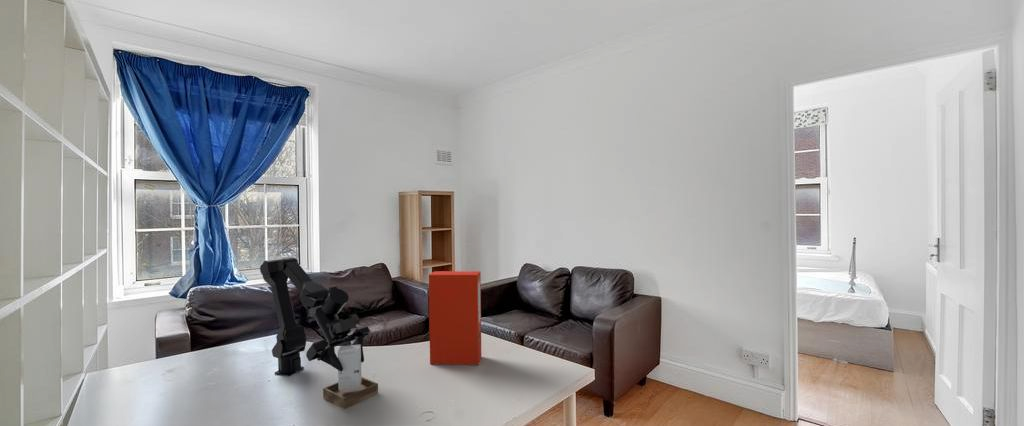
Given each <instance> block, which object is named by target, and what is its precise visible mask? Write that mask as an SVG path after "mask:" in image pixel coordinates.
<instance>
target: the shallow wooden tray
mask: <svg viewBox="0 0 1024 426" xmlns="http://www.w3.org/2000/svg"><path fill="white" fill-rule="evenodd" d="M361 380H362V382H361V386H360V388H359V389H357V390H348V391H339V384H338V381H337V382H335V383H333V384H330V385H328V386H326V387H323V388H322V397H323V400H325V401H328V402H329V403H331V404H334V405H335V406H338V407H339V408H342V409H343V410H346V409H349V408H351V407H353V406H355V405H357V404H359V403H361V402H363V401H365V400H368V399H369V398H371V397H374V396H376V395H377V394H379V383H378V382H375V381H372V380H370V379H368V378H365V377H363V376H361Z"/></svg>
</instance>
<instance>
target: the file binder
mask: <svg viewBox="0 0 1024 426" xmlns="http://www.w3.org/2000/svg"><path fill="white" fill-rule="evenodd" d="M481 278H482V277H481V271H479V270H478V271H474V270H473V271H466V270H465V271H464V270H463V271H460V270H459V271H457V270H456V271H455V270H452V271H451V270H449V271H448V270H445V271H444V270H443V271H440V270H437V271H436V270H435V271H433V272H431V273H430V274H428V306H429V307H428V309H429V310H428V311H429V312H428V313H429V314H428V315H429V319H428V321H429V324H428V325H429V365H430V364H431V365H469V366H470V365H473V366H474V365H475V366H479V364H480V362H481V360H482V292H481V291H482V287H481V285H482V283H481Z"/></svg>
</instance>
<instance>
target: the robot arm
mask: <svg viewBox="0 0 1024 426" xmlns="http://www.w3.org/2000/svg"><path fill="white" fill-rule="evenodd" d="M259 270H260V271H259V272H260V274H261V275H262V278H263V279H262V280H263V281H264V282H265V283H267V284H268V285H269V286H270V289H271V292H272V293H271V294H272V298H273V302H274V307H275V312H276V317H277V321H278V325H279V329H278V331H277V334H276V336H275V337H276V342H275V344H274V345H273V348H272V349H271V353H272V357H274V358H276V359H277V362H278V363H277V365H278V366H277V367H278V368H277V369H278V370H276V371H274V375H280V376H286V377H290V376H292V375H294V374H296V373H298V372H299V371H302V370H303V369H304V368H305V367H304V366H303V365H302V364H301V363H302V362H301V361H302V360H301V359H302V358H301V352H304V351H305V350H306V344H307V335H306V333H305V327H304V325H299V323H298V322H297V321H296V317H295V312H294V308H293V304H292V299H291V296H290V292H289V286H288V280H289V281H290V282H291V283H292V284H293V285H294V287H295V288H296V289H297V291H298V292H299V294H300V295H299V300H300V302H301V304H302V307H304V308H305V310H312V309H315V311H312V315H311V319H310V320H311V321H313V322H314V321H316V323H317V325H318V327H319V329H320V333H319V334H320V336H321V337H323V336H324V339H321V340H319V341H315V342H313V343H312V344H311V345H310V347H309V348H308V349H307V350H306V353H305V356H306V359H307V360H308V361H309V362H312V361H314V360H317V361H319V362H320V361H322V362H324V363H326V364H328V365H329V366H331V367H332V368H333V369H336V370H337V371H338V370H339V371H340V372H341V371H343V367H342V365H341V363H340V361H339V359H338V355H337V354H336V351H335V347H339V346H341V345H342V346H343V345H345V344H347V343H350V345H361V364H362V363H364V362H365V356H364V348H363V343H364V341H365V340H366V338H368V337H369V335H370V333H371V332H372V331H371V329H370V328H369V326H367V325H364V326H360V327H358V328H357V325H358V324H360V322H361V321H360V318H359V316H358V315H357V313H354V314H351V315H349V316H348V318H346V319H343V318H339V316H338V314H339V313H340V312H341V310H342V309H343V308H344V306H345V305H346V304H347V302H348V301H349V298H350V297H349V294H348V292H346V291H345V290H343V289H341V288H338V287H337V286H336V285H334V286H331V287H329V289H327V288H326V287H325V286H323V285H322V284H321V283H317V282H315V281H314V280H313V279H312V278H311V277H310V276H309V275H308V273H307V272H306V271H305V270H304V269H303V268H302V266H301V265H300V263H299V262H298V258H296V257H287V258H282V257H281V258H275V259H268V260H264V261H263V262H262V263H261V264H260V265H259ZM352 329H354V331H353V332H352ZM350 333H351V334H350Z"/></svg>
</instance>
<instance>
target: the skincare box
mask: <svg viewBox="0 0 1024 426" xmlns="http://www.w3.org/2000/svg"><path fill="white" fill-rule="evenodd" d="M339 346H340V347H339V349H338V350H337V357H338V359H339V361H340V363H341V365H342V367H343V371H341V372H340V371H339V370H337V378H338V380H337V382H338V384H339V391H348V390H357V389H359V388H360V386H361V382H362V380H361V377H362V363H361V345H352V344H350V345H349V344H348V345H342V346H341V345H339Z"/></svg>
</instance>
